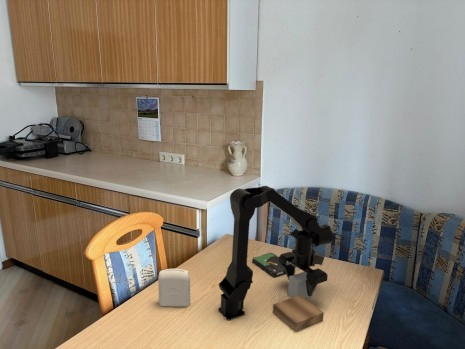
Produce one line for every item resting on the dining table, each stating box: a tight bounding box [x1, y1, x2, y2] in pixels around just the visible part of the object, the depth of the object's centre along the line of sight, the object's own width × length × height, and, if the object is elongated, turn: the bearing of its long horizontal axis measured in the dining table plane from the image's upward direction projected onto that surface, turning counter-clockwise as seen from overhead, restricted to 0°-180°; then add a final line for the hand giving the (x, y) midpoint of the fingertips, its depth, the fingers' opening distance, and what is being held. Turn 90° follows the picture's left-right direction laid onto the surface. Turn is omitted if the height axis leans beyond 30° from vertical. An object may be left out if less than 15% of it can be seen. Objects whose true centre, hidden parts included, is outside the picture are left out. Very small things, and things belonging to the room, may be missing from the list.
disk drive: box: [251, 252, 287, 279], centre depth 143 cm, size 10×3×15 cm
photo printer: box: [157, 268, 191, 308], centre depth 115 cm, size 10×4×12 cm, turn 90°
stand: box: [272, 295, 325, 333], centre depth 111 cm, size 11×11×3 cm
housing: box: [287, 271, 313, 299], centre depth 123 cm, size 7×4×7 cm, turn 121°
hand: (300, 289), depth 123 cm, fingers open, 9 cm apart
